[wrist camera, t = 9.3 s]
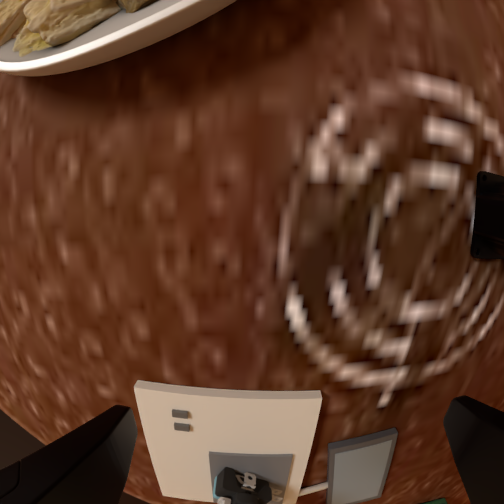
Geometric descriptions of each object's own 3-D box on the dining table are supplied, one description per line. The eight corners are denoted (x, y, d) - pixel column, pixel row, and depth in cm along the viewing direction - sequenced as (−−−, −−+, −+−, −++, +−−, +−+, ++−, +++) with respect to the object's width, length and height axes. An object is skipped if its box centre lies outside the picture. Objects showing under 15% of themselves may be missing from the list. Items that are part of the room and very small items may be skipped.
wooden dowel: (347, 472, 24) (349, 477, 23) (349, 476, 24) (351, 482, 23) (226, 501, 25) (226, 507, 24) (230, 505, 25) (230, 510, 24)
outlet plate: (320, 390, 21) (323, 400, 20) (294, 497, 25) (295, 505, 23) (137, 379, 21) (132, 389, 20) (164, 489, 25) (162, 497, 23)
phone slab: (395, 427, 22) (398, 433, 22) (378, 492, 25) (380, 497, 24) (328, 443, 23) (329, 450, 22) (325, 504, 25) (326, 510, 24)
